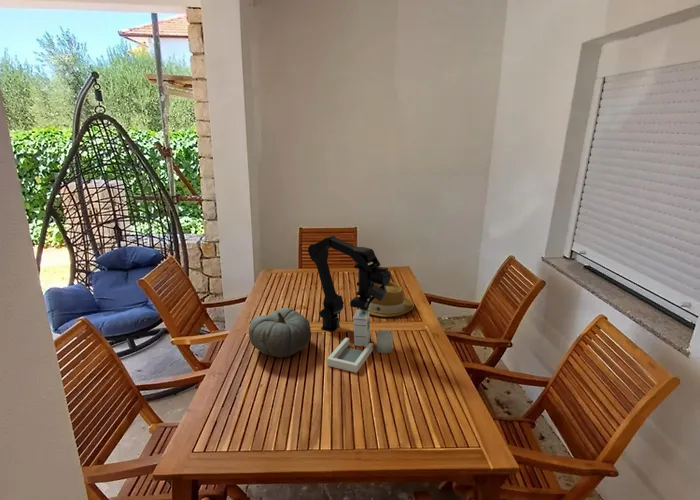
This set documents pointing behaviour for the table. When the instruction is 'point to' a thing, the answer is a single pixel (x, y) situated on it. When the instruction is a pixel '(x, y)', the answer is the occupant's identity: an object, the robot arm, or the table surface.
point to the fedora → (391, 302)
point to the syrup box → (361, 327)
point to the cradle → (348, 357)
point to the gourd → (280, 332)
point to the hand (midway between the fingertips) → (365, 315)
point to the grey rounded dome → (384, 341)
